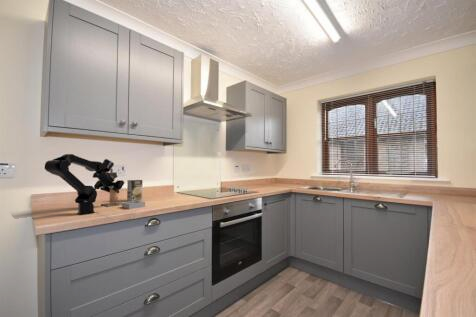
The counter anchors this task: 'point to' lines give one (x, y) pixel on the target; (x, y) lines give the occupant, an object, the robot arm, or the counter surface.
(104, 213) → the counter surface
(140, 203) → the holder
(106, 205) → the trivet
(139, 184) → the coffee box
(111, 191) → the jar
